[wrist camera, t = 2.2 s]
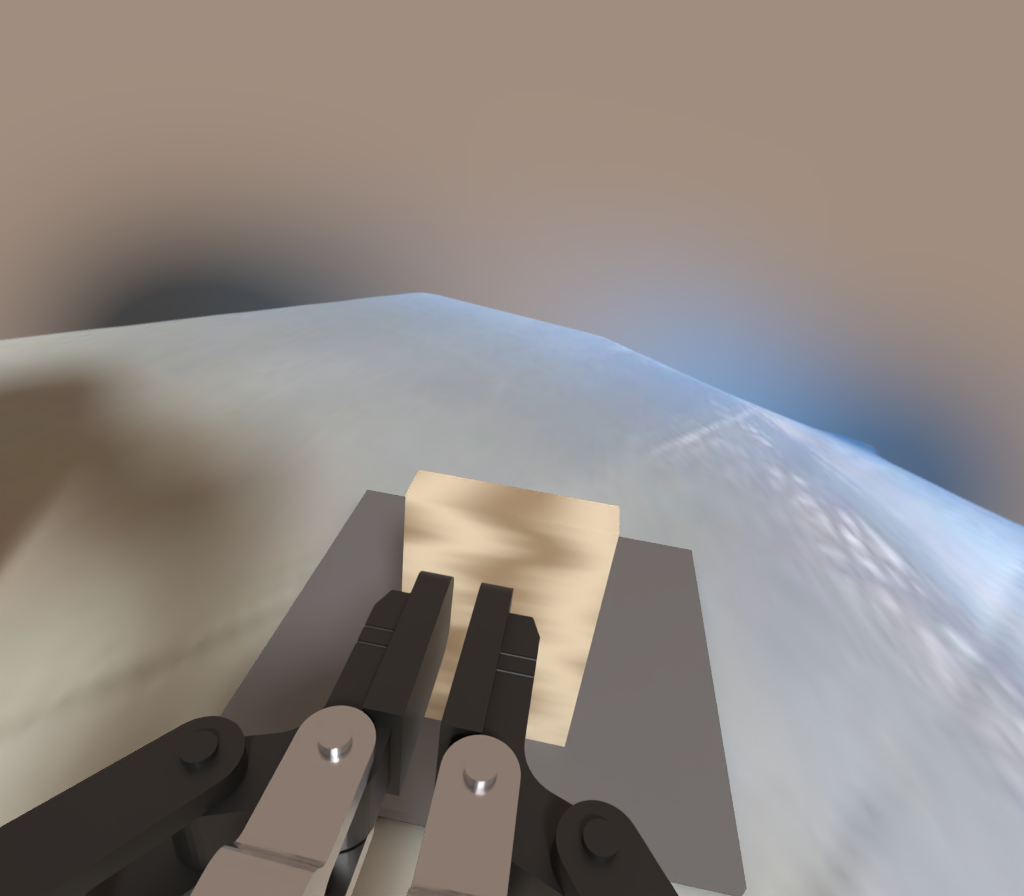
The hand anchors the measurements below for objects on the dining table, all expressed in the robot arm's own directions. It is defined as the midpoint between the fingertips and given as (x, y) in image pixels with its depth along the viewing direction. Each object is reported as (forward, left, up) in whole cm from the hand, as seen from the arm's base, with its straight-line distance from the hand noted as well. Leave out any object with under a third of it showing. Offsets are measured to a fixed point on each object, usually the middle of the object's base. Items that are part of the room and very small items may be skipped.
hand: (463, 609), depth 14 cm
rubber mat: (0, +18, -20) cm, 27 cm away
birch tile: (0, +12, -19) cm, 23 cm away
